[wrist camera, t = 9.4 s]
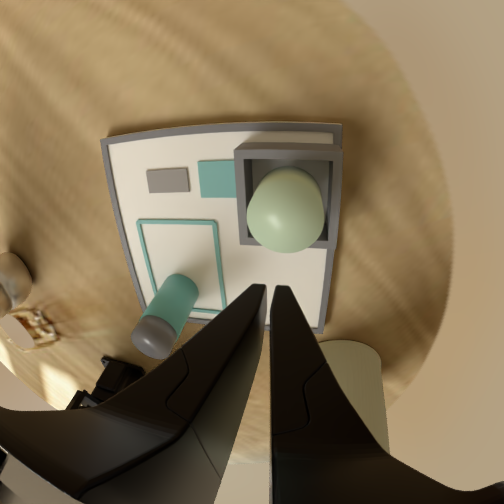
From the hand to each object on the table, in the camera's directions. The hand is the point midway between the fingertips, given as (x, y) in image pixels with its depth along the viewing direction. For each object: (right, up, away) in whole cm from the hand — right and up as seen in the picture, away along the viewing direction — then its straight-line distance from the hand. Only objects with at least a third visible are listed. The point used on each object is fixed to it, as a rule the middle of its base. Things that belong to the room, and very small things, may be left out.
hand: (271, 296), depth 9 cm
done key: (+1, +4, +7) cm, 9 cm away
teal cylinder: (-6, -2, +15) cm, 16 cm away
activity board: (-3, +2, +12) cm, 13 cm away
